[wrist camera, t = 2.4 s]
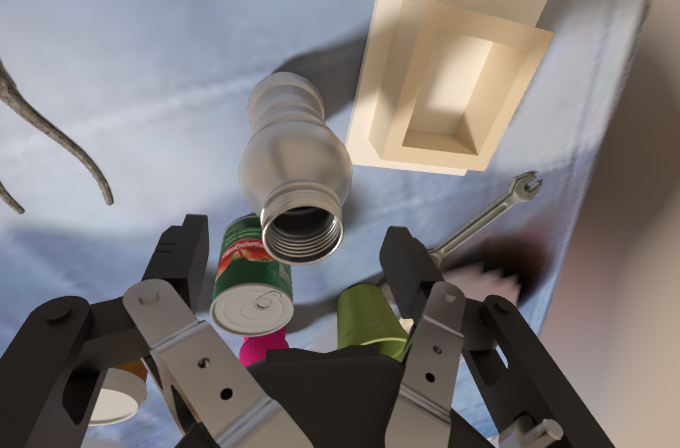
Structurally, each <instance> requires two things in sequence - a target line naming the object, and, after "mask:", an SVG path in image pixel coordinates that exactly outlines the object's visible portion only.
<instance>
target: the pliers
mask: <svg viewBox="0 0 680 448" xmlns="http://www.w3.org/2000/svg"><path fill="white" fill-rule="evenodd" d="M0 99H1V100H2V101H3V102H4V103H6V104H7V105H8V106H9V107H10V108H11V109H13V110H14V111H15V112H16V113H17V114H18V115H20V116H21V117H22V118H23V119H25V120H26V121H28V122H29V123H30V124H32V125H33V126H34V127H36V128H37V129H39V130H40V131H42V132H43V133H45V134H46V135H47V136H49V137H50V138H52V139H53V140H54V141H56V142H57V143H58V144H60V145H61V146H63V147H64V148H65V149H67V150H68V151H69V152H70V153H72V154H73V155H74V156H75V157H77V158H78V159H79V160H80V161H81V162H82V163H83V164H84V165H85V166H86V168H87V169H88V170H89V171H90V173H91V174H92V175H93V177H94V178H95V180H96V181H97V183H98V185H99V187H100V189H101V191H102V193H103V196H104V199H105V202H106V204H107V205H111V204H112V203H113V202H112V197H111V193H110V190H109V188H108V186H107V184H106V181H105V180H104V178H103V176H102V175H101V173H100V172H99V170H98V169H97V167H96V166H95V165H94V163H93V162H92V161H91V160H90V159H89V158H88V156H87V155H86V154H85V153H84V152H83V151H82V150H81V149H79V148H78V147H77V146H76V145H75V144H74V143H73V142H71V141H70V140H69V139H68V138H66V137H65V136H64V135H63V134H61V133H60V132H59V131H58V130H57V129H55V128H54V127H53V126H52V125H50V124H49V123H48V122H47V121H45V120H44V119H43V118H42V117H40V116H39V115H38V114H37V113H36V112H35V111H33V110H32V109H31V108H30V107H29V106H28V105H27V104H26V103H25V102H24V101H23V100H22V99H21V98H20V97H19V95H18V94H17V93H16V92H15V91H14V89H13V88H12V86H11V85H10V84H9V82H8V81H7V79H6V78H5V77H4V75H3V74H2V73H1V71H0ZM0 197H1V198H2V199H3V201H4V202H5V203H6V204H8V205H9V206H10V207H11V208H12V209H13V210H14V211H16V212H17V213H18V214H23V213H24V210H23V209H22V208H21V207H20V206H19V205H18V204H17V203H16V202H15V201H14V200H13V199H12V198H11V197H10V196H9V195H8V194H7V192H6V191H5V190H4V189H3V187H2V186H1V184H0Z"/></svg>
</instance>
